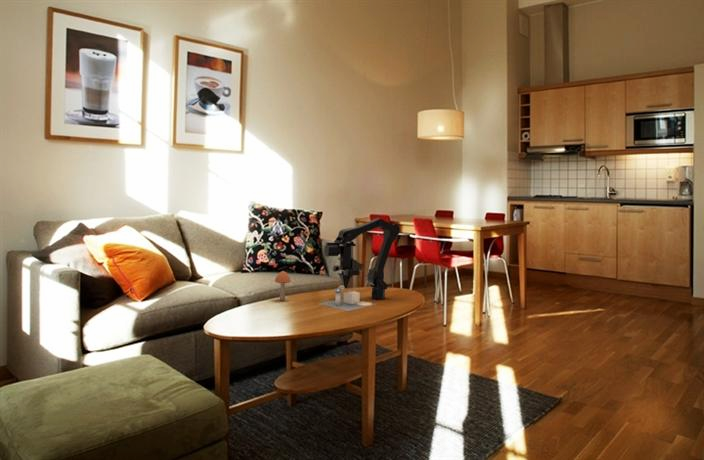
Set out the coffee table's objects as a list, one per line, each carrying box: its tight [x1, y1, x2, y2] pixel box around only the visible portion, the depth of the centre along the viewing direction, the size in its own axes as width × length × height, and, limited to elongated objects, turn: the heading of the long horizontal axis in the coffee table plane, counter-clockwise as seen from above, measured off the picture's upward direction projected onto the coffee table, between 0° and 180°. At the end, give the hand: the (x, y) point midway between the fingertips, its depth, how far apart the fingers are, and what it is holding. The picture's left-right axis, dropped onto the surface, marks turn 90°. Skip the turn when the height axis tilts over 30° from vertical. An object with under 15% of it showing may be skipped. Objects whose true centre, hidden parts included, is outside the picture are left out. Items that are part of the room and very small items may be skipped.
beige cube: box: [343, 290, 361, 304], centre depth 244 cm, size 5×5×5 cm
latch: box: [333, 284, 346, 294], centre depth 241 cm, size 12×4×1 cm, turn 169°
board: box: [318, 292, 376, 312], centre depth 240 cm, size 19×20×7 cm
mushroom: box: [274, 270, 292, 302], centre depth 252 cm, size 8×8×15 cm
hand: (345, 288), depth 244 cm, fingers closed
